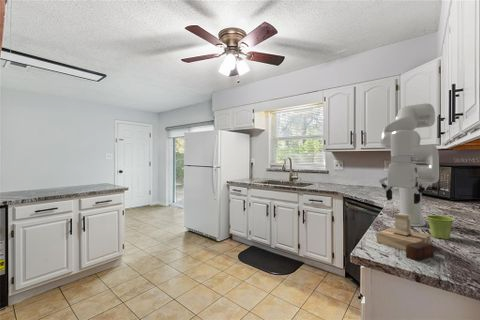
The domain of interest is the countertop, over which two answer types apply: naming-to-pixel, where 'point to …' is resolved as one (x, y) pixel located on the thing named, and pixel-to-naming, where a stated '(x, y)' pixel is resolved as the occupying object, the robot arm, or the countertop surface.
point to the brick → (419, 251)
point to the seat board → (400, 238)
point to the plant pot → (440, 226)
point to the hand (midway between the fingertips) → (402, 201)
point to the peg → (402, 225)
